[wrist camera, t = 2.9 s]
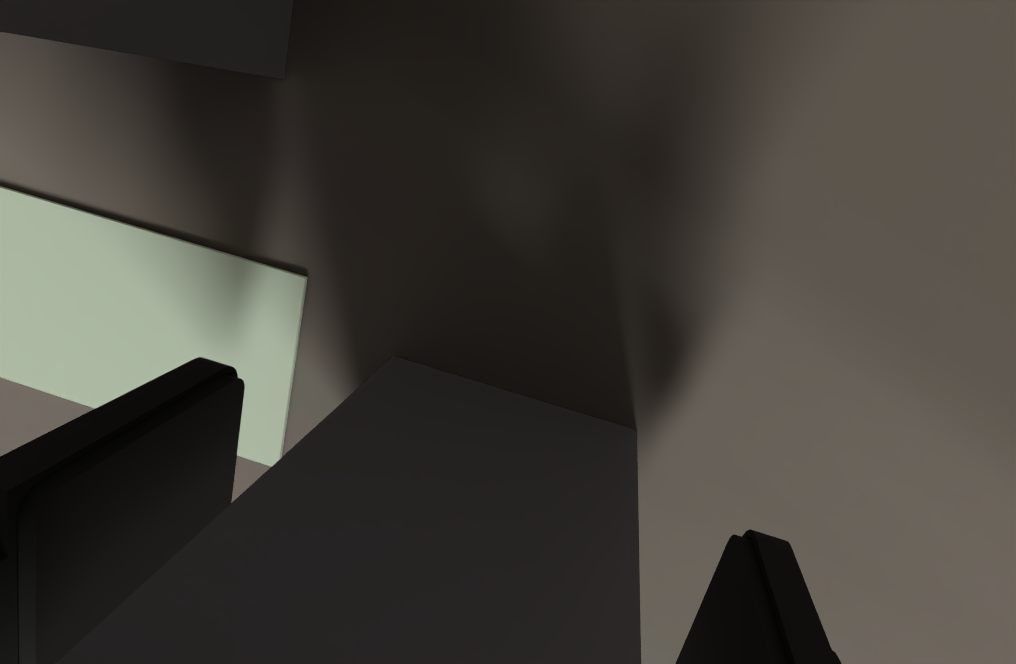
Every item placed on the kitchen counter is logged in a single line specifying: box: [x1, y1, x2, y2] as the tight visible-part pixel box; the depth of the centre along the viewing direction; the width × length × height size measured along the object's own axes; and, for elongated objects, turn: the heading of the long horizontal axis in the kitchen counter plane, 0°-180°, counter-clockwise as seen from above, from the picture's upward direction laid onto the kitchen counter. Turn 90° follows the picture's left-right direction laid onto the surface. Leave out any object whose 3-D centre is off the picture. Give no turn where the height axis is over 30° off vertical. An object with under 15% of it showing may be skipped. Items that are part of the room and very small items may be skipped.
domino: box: [56, 356, 641, 664], centre depth 8 cm, size 5×2×10 cm, turn 76°
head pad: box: [0, 186, 308, 467], centre depth 14 cm, size 7×4×1 cm, turn 76°
